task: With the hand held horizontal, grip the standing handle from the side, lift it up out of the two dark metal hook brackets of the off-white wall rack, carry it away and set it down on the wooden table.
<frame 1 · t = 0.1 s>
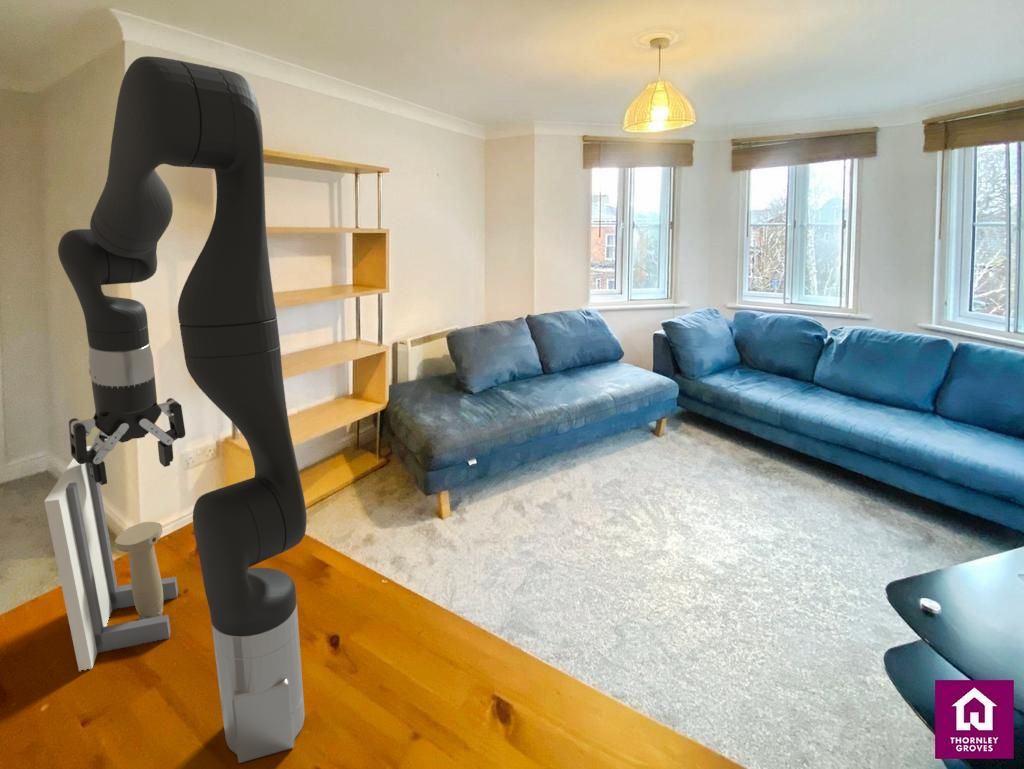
hand: (134, 473, 89), 23 cm above the table, tool pointing down, fingers open, 8 cm apart
handle: (152, 619, 92), on the table
rack: (106, 626, 90), on the table
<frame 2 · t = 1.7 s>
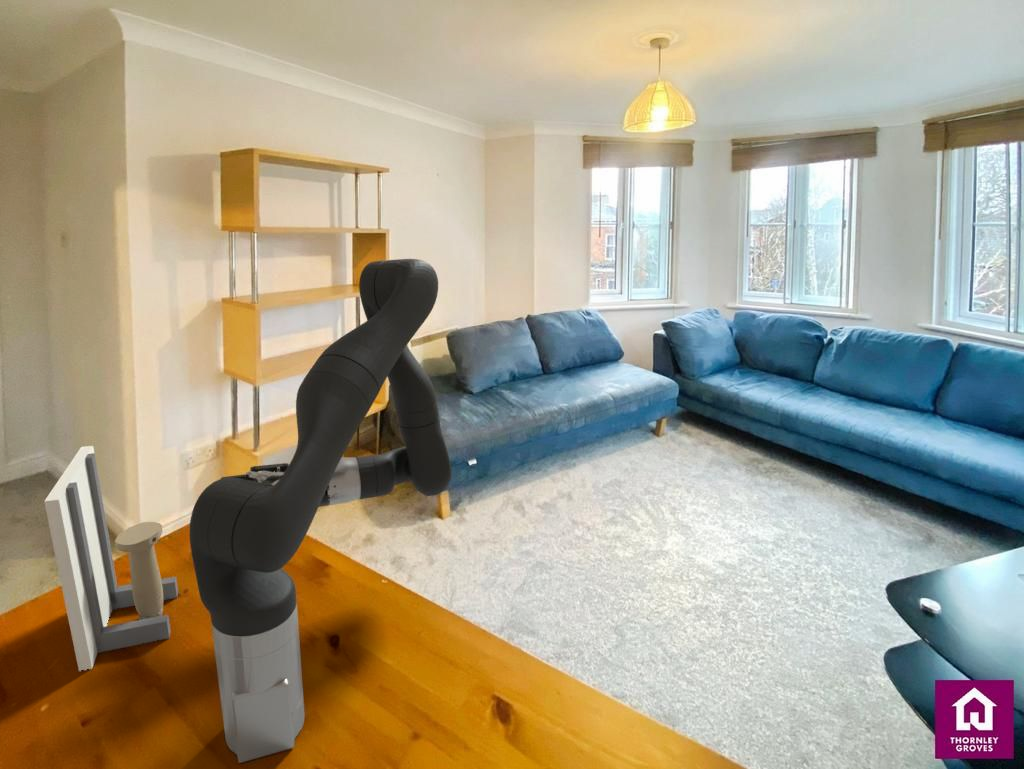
hand: (219, 496, 91), 19 cm above the table, tool horizontal, fingers open, 8 cm apart
nothing on the table moved.
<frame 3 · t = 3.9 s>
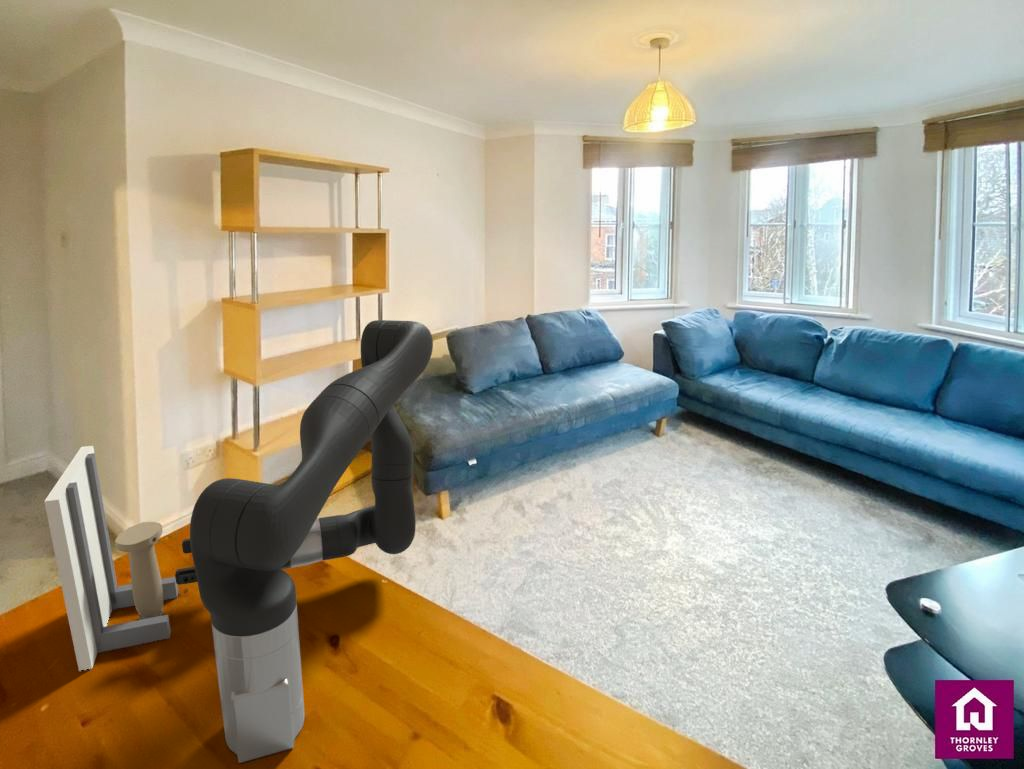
hand: (179, 561, 91), 9 cm above the table, tool horizontal, fingers open, 8 cm apart
nothing on the table moved.
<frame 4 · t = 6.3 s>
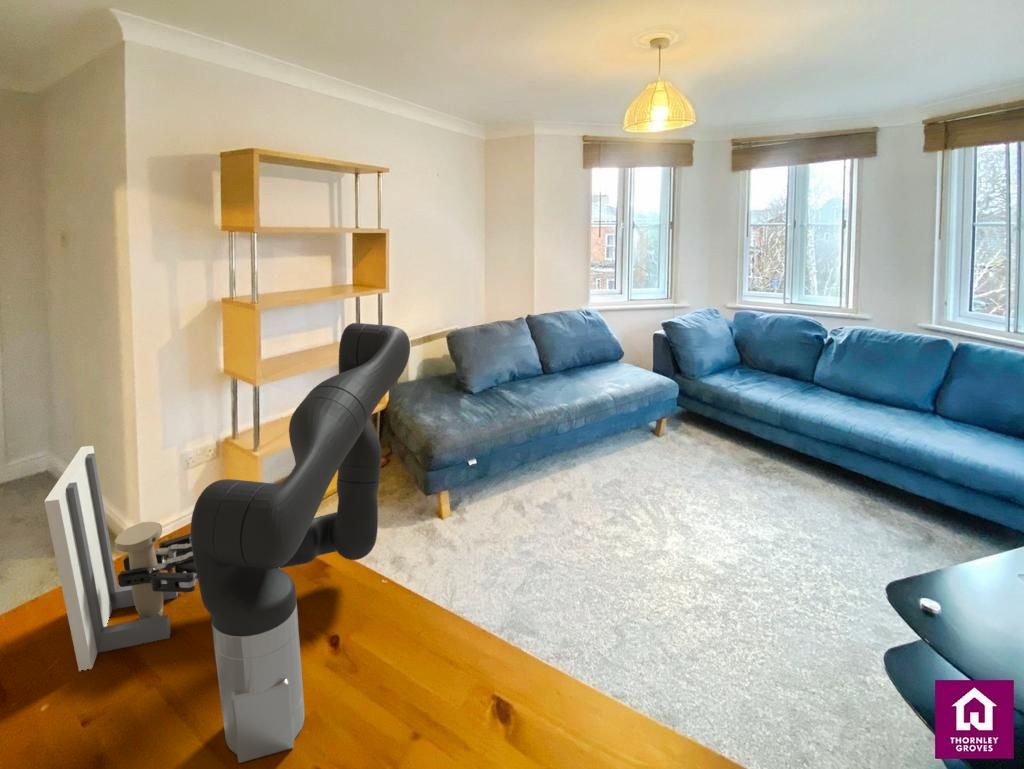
hand: (122, 571, 88), 9 cm above the table, tool horizontal, fingers closed on handle, 3 cm apart
handle: (152, 619, 92), on the table, touching gripper
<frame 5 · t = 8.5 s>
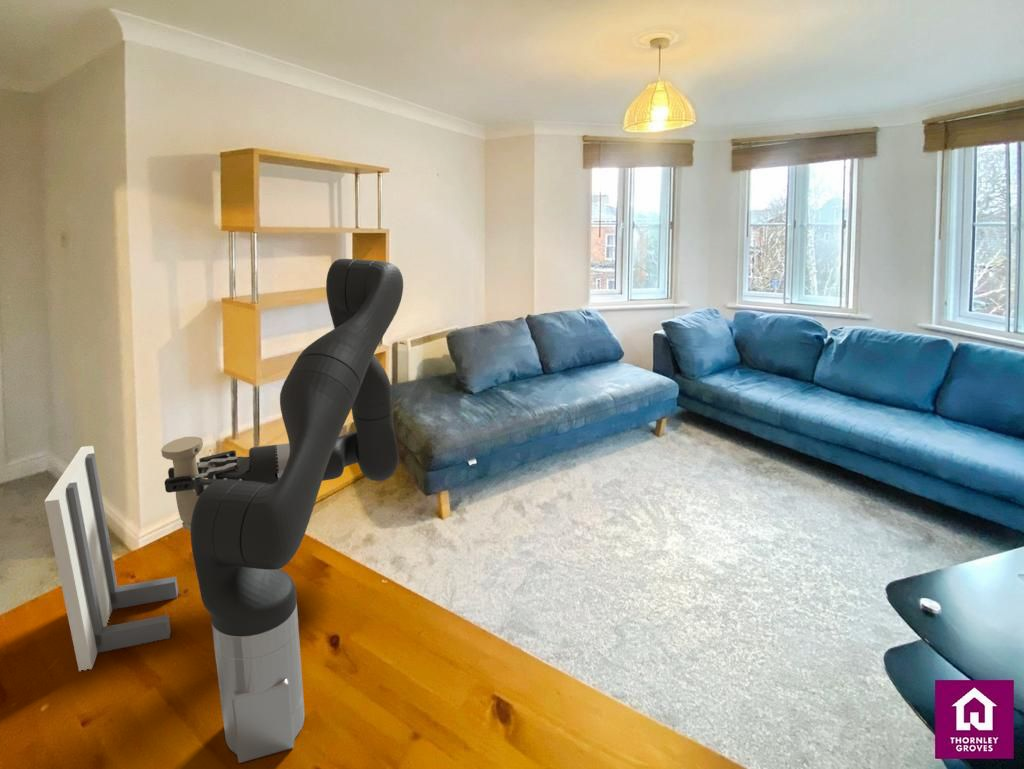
hand: (167, 480, 96), 19 cm above the table, tool horizontal, fingers closed on handle, 3 cm apart
handle: (194, 527, 100), point 9 cm above the table, touching gripper
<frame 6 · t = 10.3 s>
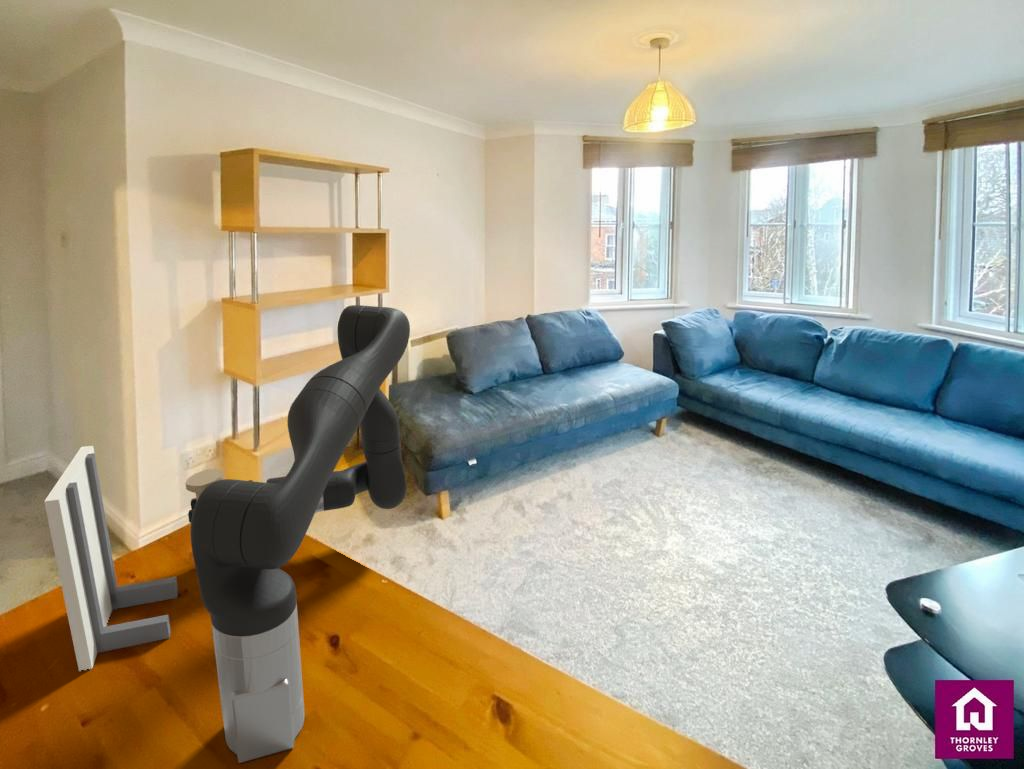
hand: (190, 510, 103), 11 cm above the table, tool horizontal, fingers closed on handle, 3 cm apart
handle: (214, 554, 106), point 2 cm above the table, touching gripper
when the fingers open (10 cm above the table, at t = 10.8 s): handle drops 1 cm, on the table.
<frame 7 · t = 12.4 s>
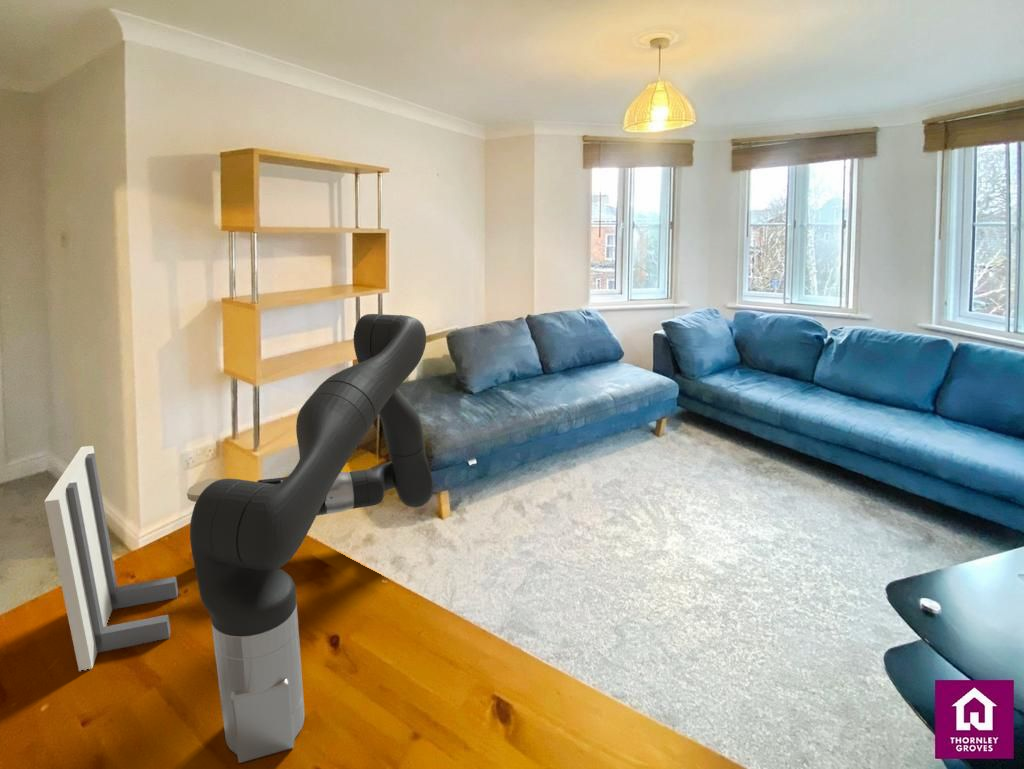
hand: (230, 507, 105), 11 cm above the table, tool horizontal, fingers open, 8 cm apart
handle: (215, 563, 107), on the table
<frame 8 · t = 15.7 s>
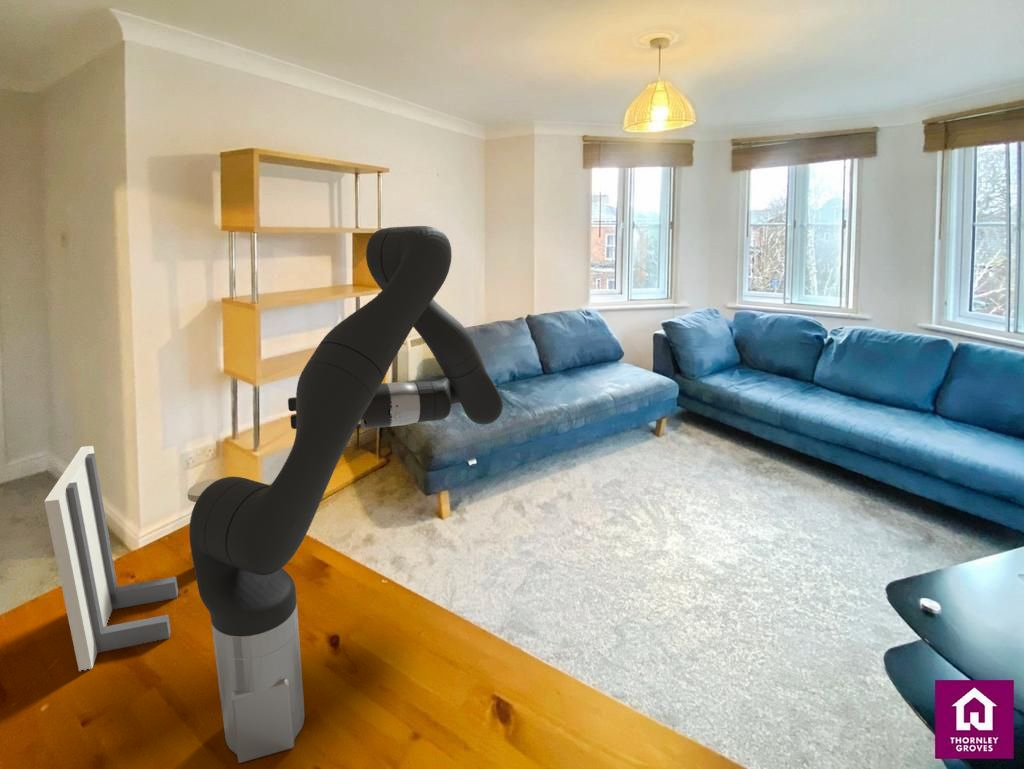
hand: (289, 413, 96), 30 cm above the table, tool horizontal, fingers open, 8 cm apart
nothing on the table moved.
at the end: handle inside the target area (0.1 cm from its centre), on the table; handle touching table; handle tilted 0° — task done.
